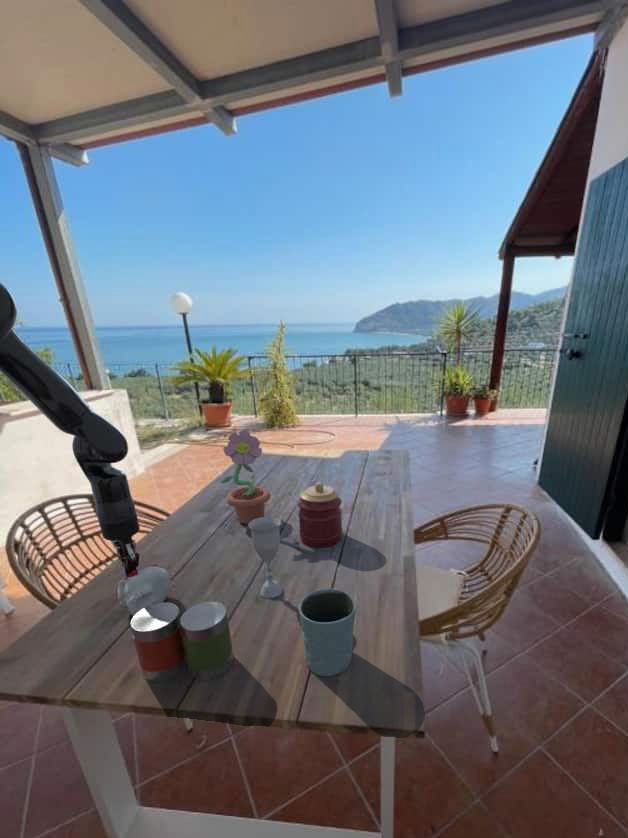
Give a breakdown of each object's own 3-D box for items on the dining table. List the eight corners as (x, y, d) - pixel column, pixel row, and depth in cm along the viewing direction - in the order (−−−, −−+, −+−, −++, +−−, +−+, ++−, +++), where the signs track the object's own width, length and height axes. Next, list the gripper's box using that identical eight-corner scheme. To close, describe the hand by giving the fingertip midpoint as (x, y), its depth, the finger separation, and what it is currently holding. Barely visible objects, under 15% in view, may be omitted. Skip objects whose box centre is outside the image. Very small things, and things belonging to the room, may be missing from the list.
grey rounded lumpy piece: (139, 628, 80) (108, 609, 89) (189, 600, 89) (156, 584, 97) (127, 590, 78) (96, 574, 86) (179, 564, 86) (146, 552, 95)
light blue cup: (292, 668, 71) (287, 614, 67) (319, 632, 80) (316, 582, 76) (341, 687, 67) (340, 630, 63) (364, 647, 76) (364, 595, 72)
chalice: (249, 596, 91) (241, 527, 85) (266, 580, 97) (259, 515, 91) (276, 603, 88) (269, 532, 82) (292, 586, 94) (286, 519, 88)
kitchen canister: (312, 525, 126) (309, 473, 120) (349, 531, 122) (348, 478, 116) (291, 543, 115) (287, 487, 109) (331, 551, 110) (329, 493, 105)
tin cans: (133, 682, 68) (120, 632, 64) (154, 649, 75) (143, 602, 72) (226, 680, 68) (218, 630, 65) (238, 648, 76) (231, 600, 72)
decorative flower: (226, 532, 122) (213, 439, 112) (225, 514, 134) (214, 429, 124) (274, 525, 126) (266, 435, 116) (269, 509, 139) (262, 426, 128)
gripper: (91, 511, 91) (108, 574, 97) (106, 530, 82) (123, 598, 88) (127, 502, 96) (141, 563, 102) (144, 519, 87) (158, 584, 93)
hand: (132, 579), depth 95 cm, fingers closed
